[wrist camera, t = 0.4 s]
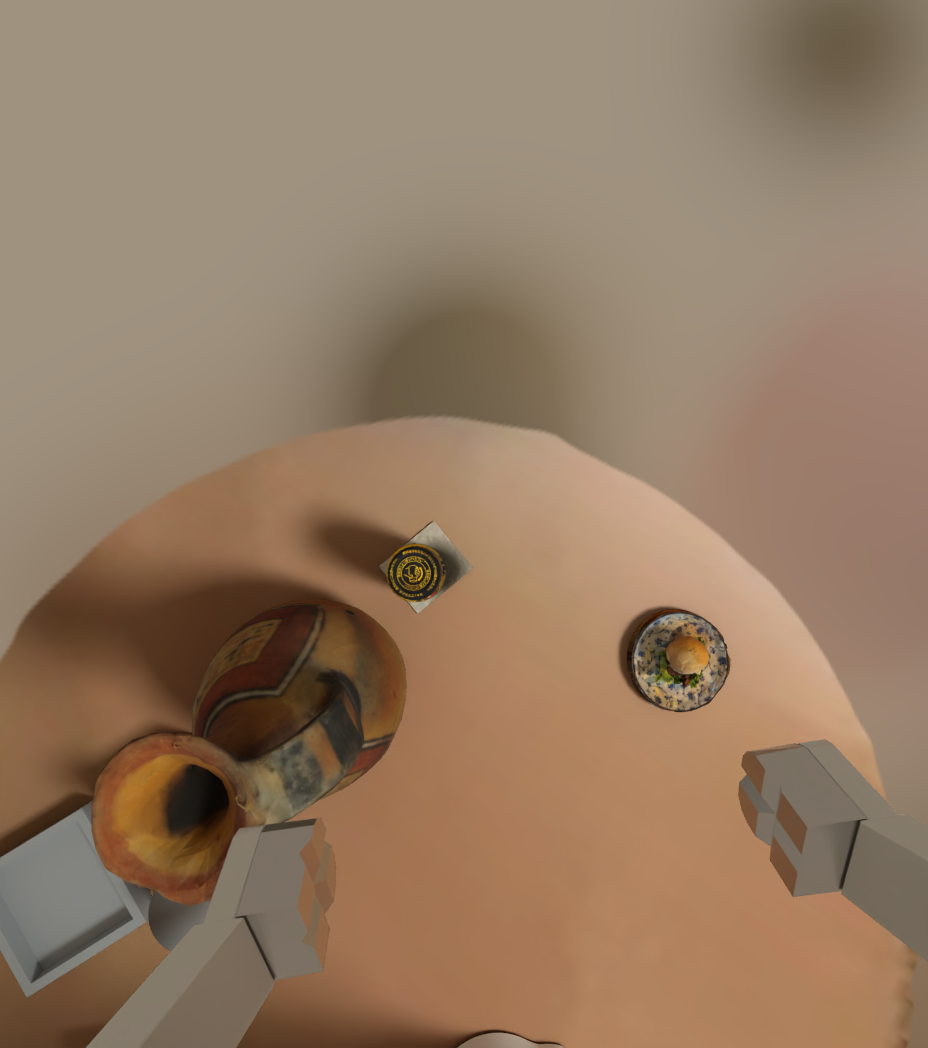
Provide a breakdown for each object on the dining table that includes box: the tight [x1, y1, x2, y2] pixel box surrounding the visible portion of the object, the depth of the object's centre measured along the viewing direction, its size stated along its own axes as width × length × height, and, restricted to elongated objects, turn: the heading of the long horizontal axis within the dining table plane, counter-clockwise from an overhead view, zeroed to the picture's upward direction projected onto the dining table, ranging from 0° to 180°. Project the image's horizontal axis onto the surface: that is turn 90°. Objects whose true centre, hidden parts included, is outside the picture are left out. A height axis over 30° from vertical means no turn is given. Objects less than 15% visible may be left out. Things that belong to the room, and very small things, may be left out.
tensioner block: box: [91, 803, 210, 951], centre depth 56 cm, size 18×10×8 cm, turn 31°
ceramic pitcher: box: [91, 599, 407, 906], centre depth 46 cm, size 20×20×30 cm
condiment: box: [379, 521, 473, 613], centre depth 57 cm, size 7×8×12 cm
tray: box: [0, 800, 152, 997], centre depth 57 cm, size 14×14×2 cm
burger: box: [627, 609, 730, 712], centre depth 60 cm, size 12×12×8 cm
